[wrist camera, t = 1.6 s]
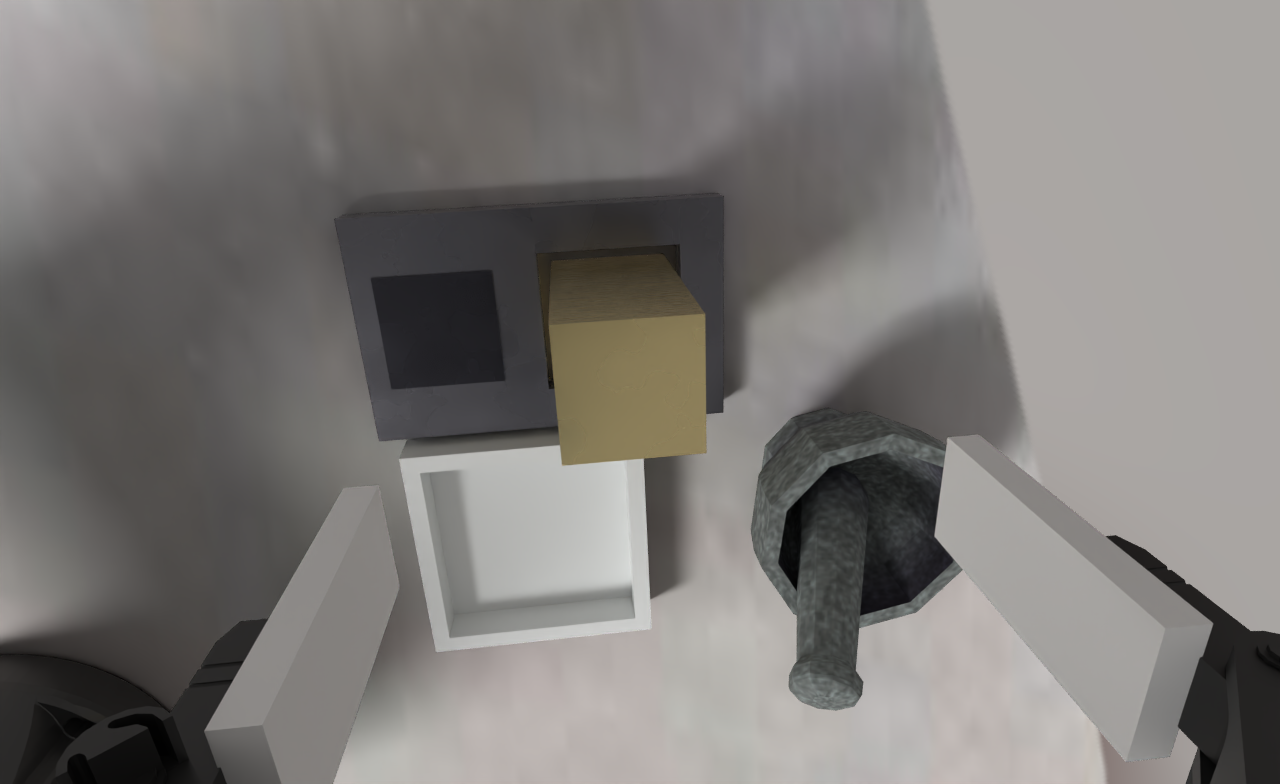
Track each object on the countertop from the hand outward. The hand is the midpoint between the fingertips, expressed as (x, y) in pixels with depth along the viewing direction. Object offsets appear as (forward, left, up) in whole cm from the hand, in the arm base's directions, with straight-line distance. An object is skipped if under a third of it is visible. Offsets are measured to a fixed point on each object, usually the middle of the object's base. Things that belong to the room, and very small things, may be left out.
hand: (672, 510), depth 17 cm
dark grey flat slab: (-3, 0, -18) cm, 18 cm away
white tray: (-5, -11, -18) cm, 21 cm away
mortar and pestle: (+10, -10, -18) cm, 22 cm away
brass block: (0, 0, -18) cm, 18 cm away
